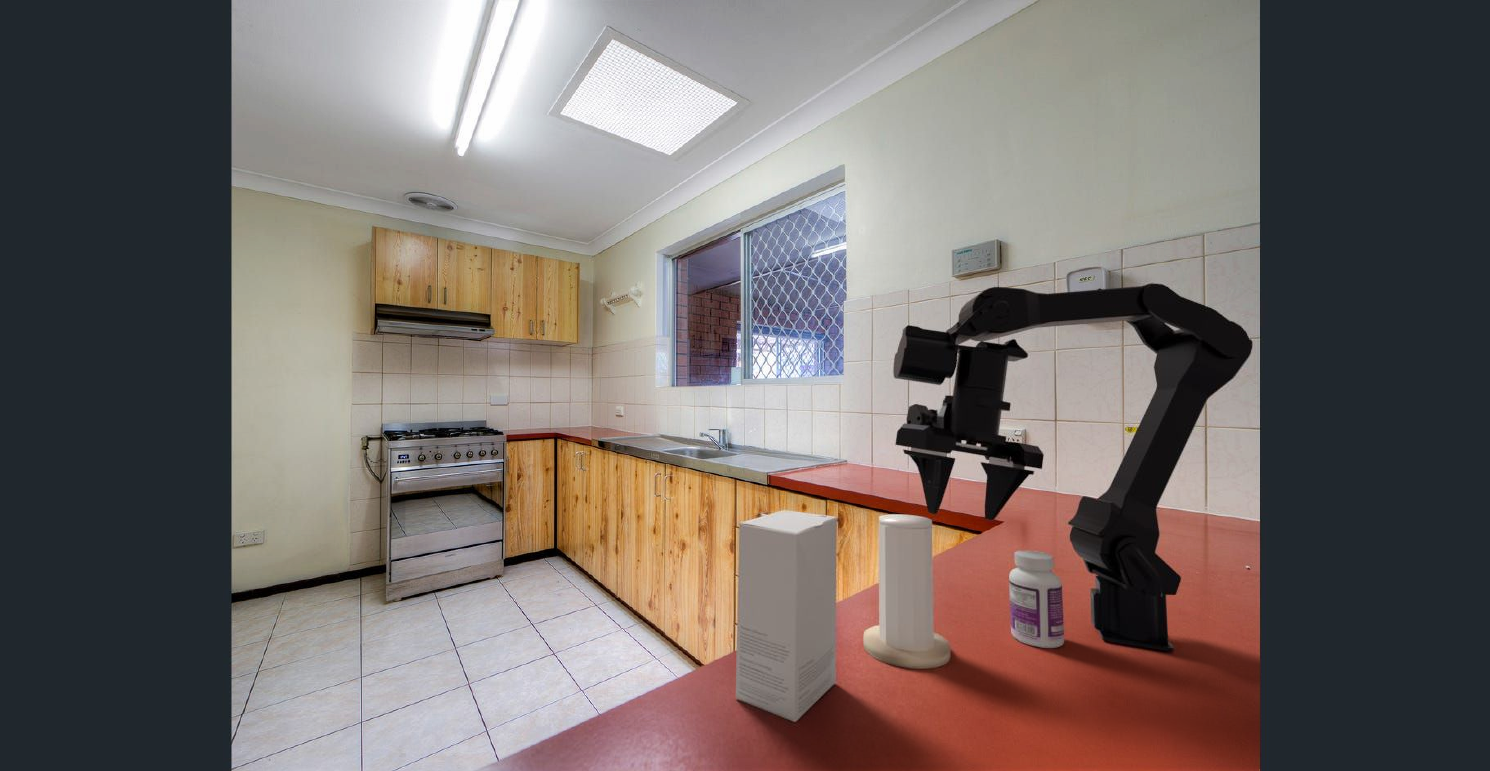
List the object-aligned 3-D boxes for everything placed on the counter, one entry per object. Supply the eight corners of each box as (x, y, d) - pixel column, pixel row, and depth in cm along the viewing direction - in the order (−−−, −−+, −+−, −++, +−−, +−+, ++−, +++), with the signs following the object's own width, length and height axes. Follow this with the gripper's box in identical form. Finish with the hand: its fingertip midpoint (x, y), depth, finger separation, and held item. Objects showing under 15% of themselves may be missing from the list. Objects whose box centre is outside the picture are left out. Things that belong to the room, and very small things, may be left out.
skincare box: (781, 665, 52) (782, 508, 53) (841, 685, 48) (842, 515, 49) (731, 700, 45) (734, 520, 46) (797, 727, 41) (799, 529, 42)
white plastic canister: (943, 641, 56) (941, 519, 57) (916, 655, 52) (915, 525, 53) (897, 625, 60) (896, 512, 61) (869, 638, 56) (869, 517, 57)
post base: (953, 642, 58) (952, 605, 58) (946, 676, 50) (945, 633, 50) (873, 627, 62) (873, 593, 62) (854, 656, 54) (854, 617, 54)
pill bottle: (1050, 631, 61) (1047, 549, 62) (1073, 650, 56) (1070, 560, 57) (1002, 629, 62) (1000, 547, 63) (1022, 648, 57) (1019, 558, 57)
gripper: (981, 401, 75) (967, 508, 73) (877, 378, 68) (859, 496, 67) (1053, 404, 64) (1037, 528, 63) (938, 377, 57) (918, 516, 56)
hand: (961, 516), depth 63 cm, fingers open, 9 cm apart
